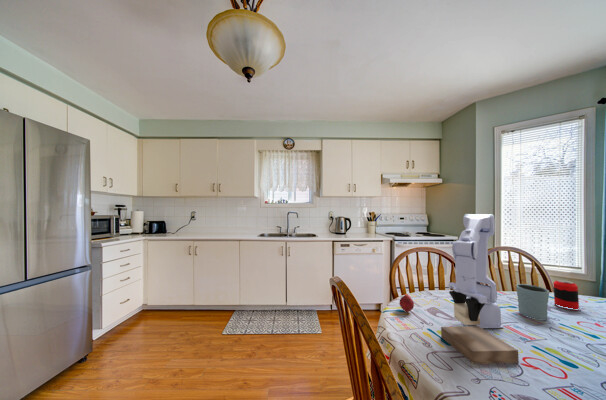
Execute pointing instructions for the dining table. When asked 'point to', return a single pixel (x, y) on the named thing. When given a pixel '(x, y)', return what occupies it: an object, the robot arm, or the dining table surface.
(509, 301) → the dining table surface
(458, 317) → the beech cube
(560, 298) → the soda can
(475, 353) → the walnut block
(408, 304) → the pomegranate
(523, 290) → the green plant pot
